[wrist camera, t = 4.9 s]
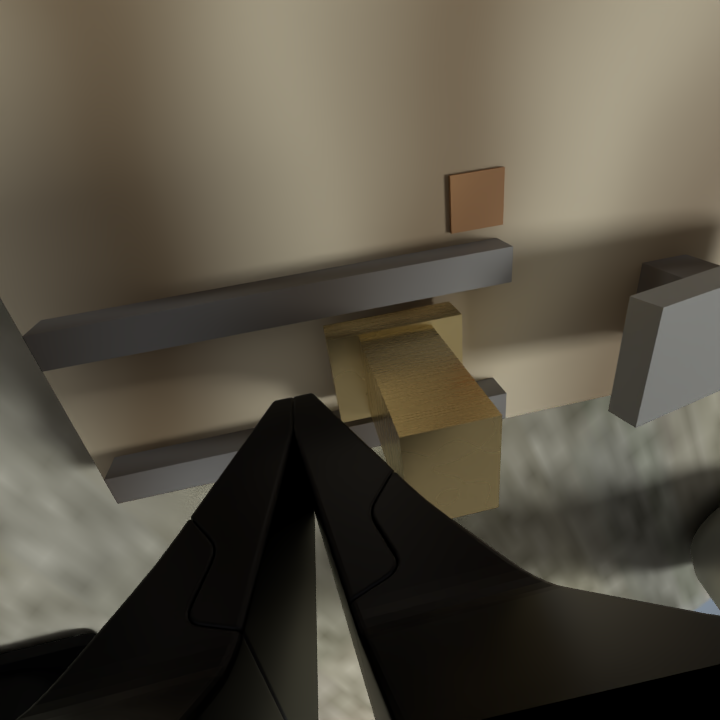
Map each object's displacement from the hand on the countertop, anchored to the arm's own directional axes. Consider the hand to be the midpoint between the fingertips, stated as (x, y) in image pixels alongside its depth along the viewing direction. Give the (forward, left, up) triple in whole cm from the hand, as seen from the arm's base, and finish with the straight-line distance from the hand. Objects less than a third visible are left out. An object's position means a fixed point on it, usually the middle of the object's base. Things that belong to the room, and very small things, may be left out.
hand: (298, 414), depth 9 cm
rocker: (+10, 0, 0) cm, 10 cm away
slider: (+2, 0, -2) cm, 3 cm away
